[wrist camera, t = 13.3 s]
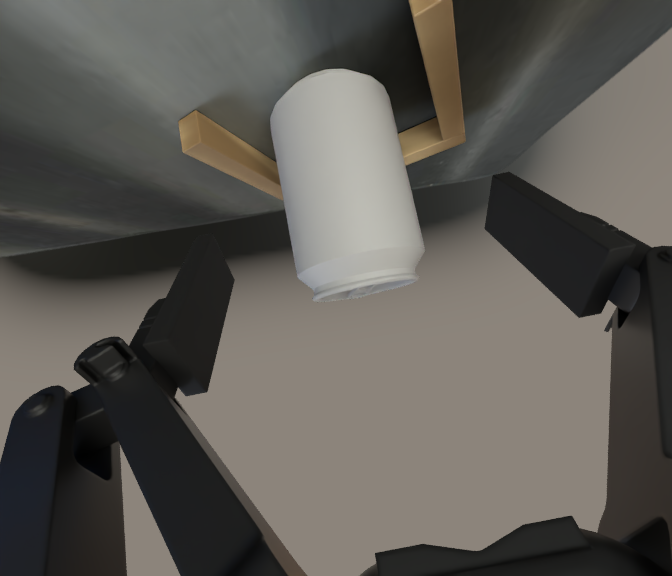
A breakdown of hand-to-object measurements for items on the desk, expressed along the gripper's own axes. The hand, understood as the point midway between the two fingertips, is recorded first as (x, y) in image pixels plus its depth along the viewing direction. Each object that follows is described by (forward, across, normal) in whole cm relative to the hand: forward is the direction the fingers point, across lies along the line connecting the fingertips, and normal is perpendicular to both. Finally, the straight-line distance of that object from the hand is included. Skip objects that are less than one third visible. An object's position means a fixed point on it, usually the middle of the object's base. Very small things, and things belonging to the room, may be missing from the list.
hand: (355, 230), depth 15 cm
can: (+9, 0, +4) cm, 10 cm away
